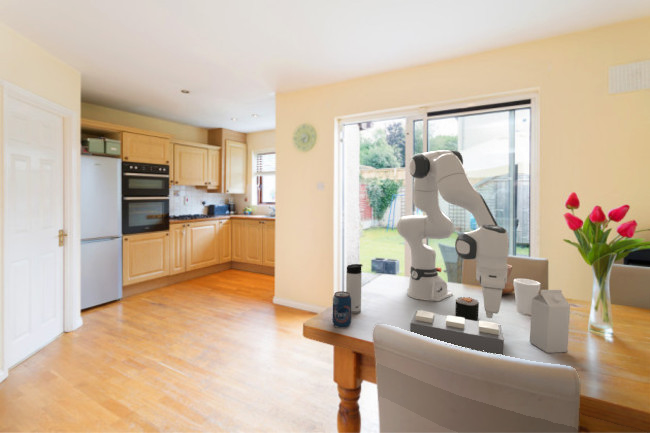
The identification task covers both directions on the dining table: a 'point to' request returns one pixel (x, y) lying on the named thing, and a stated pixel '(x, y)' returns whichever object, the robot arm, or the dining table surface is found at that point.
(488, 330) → the knob
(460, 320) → the knob middle
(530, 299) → the foam cup
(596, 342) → the dining table surface
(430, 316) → the knob
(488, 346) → the block
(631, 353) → the dining table surface
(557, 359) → the dining table surface
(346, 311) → the soda can
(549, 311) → the milk carton
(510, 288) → the ceramic jug
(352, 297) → the travel mug
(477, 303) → the sushi
